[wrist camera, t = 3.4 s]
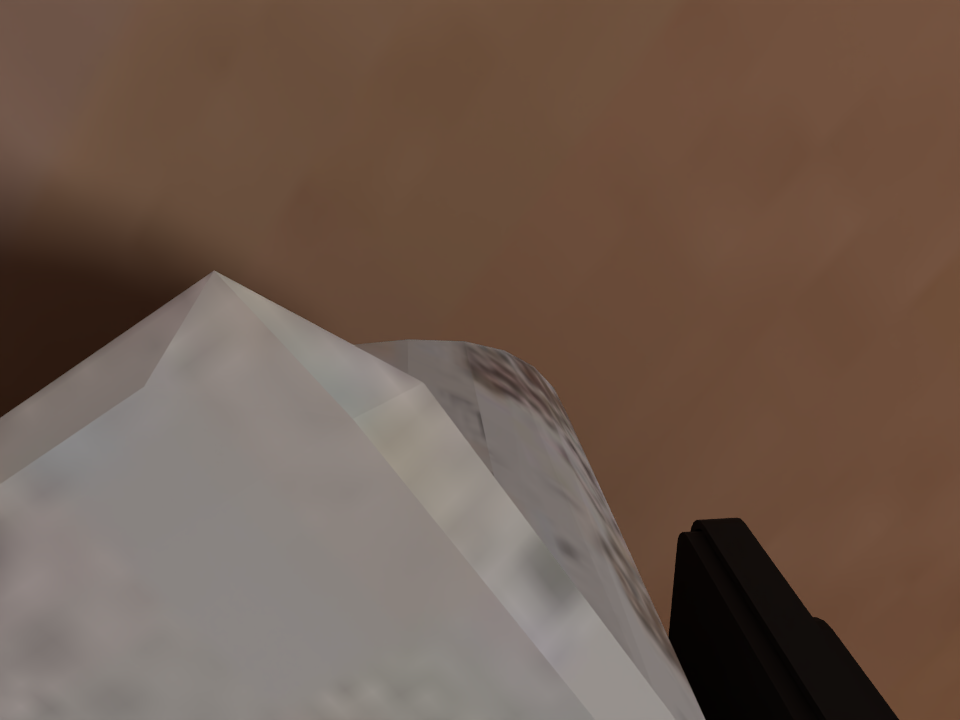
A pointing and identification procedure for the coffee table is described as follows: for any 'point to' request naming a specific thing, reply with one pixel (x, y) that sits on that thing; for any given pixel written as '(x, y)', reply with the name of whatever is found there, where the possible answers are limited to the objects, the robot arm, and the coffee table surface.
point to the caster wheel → (312, 535)
